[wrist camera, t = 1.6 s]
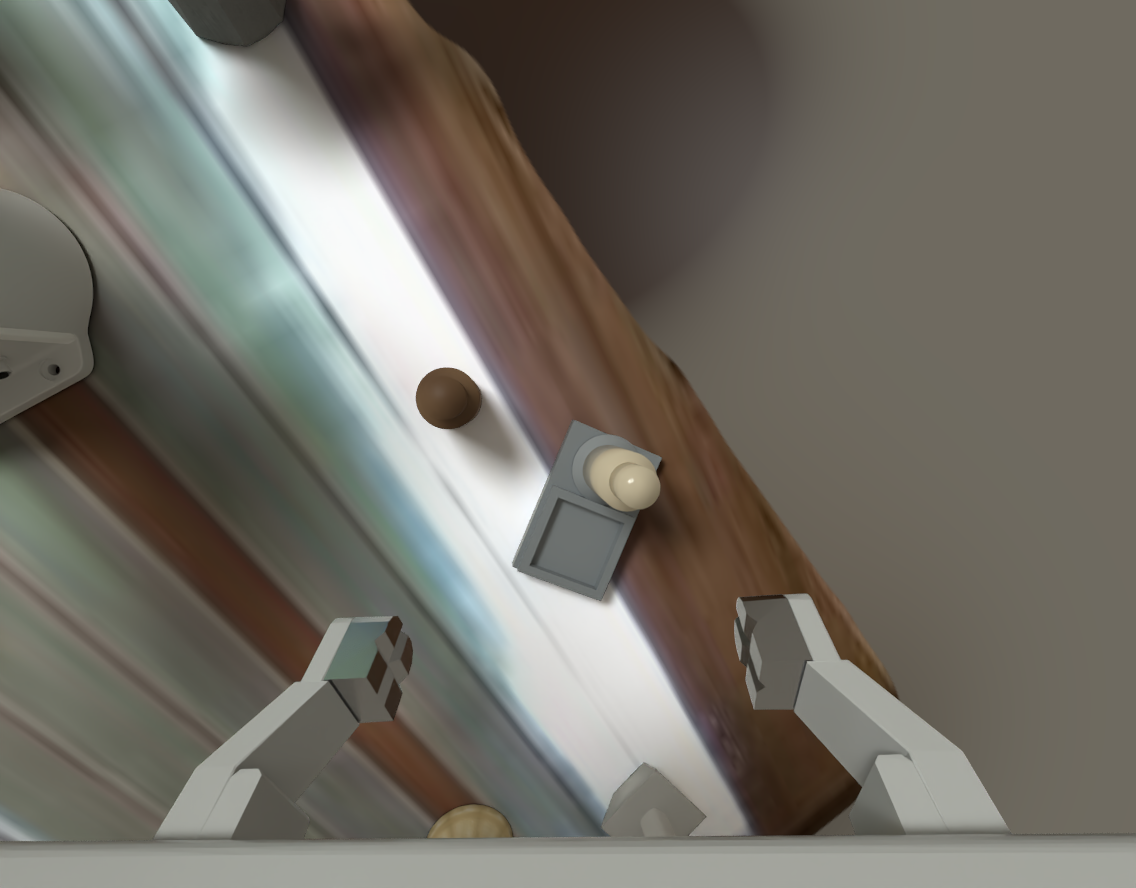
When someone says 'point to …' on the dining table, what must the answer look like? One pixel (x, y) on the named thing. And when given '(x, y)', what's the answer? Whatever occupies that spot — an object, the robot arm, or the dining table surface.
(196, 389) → the dining table surface
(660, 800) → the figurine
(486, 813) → the hand bell
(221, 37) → the coffeepot
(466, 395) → the pepper mill
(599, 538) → the cruet stand
